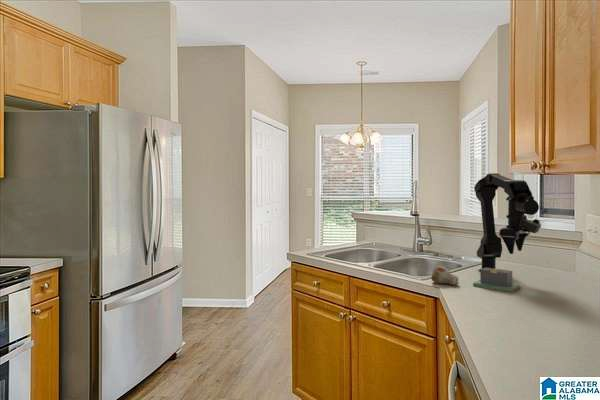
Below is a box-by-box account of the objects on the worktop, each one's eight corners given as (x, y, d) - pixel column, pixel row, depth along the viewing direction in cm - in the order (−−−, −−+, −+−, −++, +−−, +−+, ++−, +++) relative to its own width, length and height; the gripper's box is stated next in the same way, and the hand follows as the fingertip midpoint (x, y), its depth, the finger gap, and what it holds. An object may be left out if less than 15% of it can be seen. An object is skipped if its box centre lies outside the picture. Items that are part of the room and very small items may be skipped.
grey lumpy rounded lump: (456, 288, 174) (443, 265, 175) (436, 294, 181) (423, 272, 182) (465, 280, 179) (451, 257, 181) (445, 286, 187) (432, 265, 188)
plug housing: (485, 280, 180) (485, 267, 180) (512, 284, 173) (512, 270, 173) (480, 282, 177) (480, 269, 176) (507, 286, 170) (507, 273, 169)
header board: (482, 281, 183) (482, 271, 183) (519, 287, 173) (519, 276, 173) (473, 285, 177) (473, 275, 176) (511, 292, 167) (511, 280, 167)
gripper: (530, 215, 167) (529, 258, 168) (546, 212, 181) (545, 251, 182) (499, 213, 175) (498, 254, 176) (516, 210, 188) (515, 248, 189)
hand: (515, 252), depth 181 cm, fingers open, 9 cm apart
